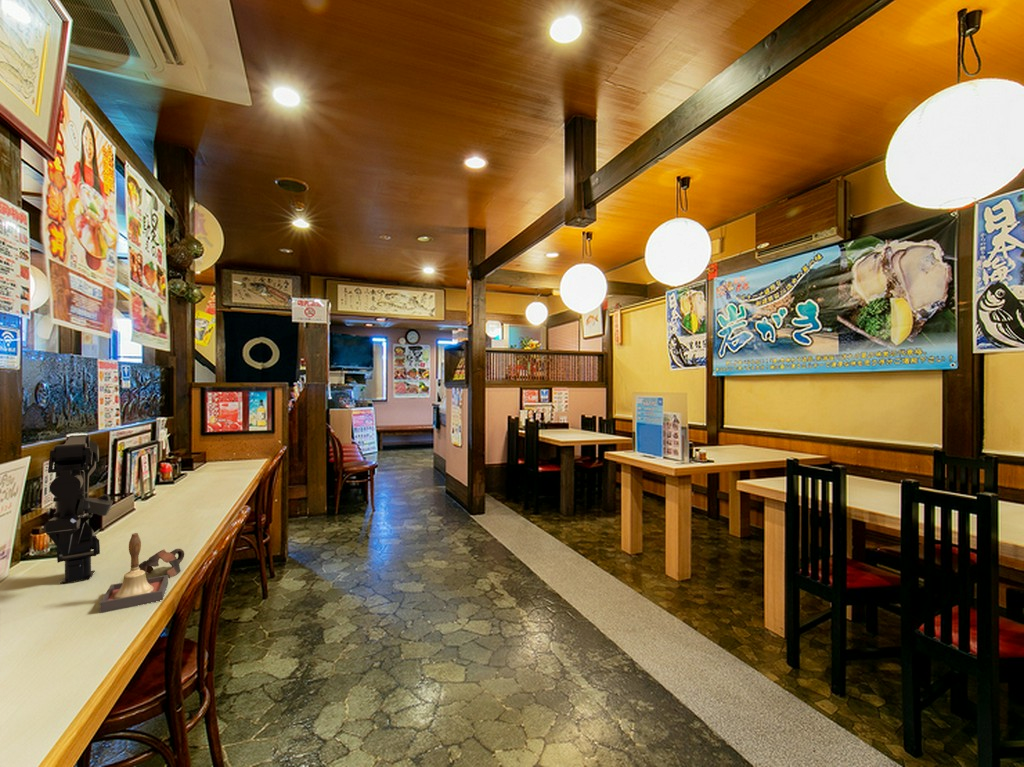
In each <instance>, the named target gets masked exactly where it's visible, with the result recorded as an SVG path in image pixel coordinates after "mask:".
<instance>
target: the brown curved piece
mask: <svg viewBox="0 0 1024 767" xmlns="http://www.w3.org/2000/svg"><path fill="white" fill-rule="evenodd" d="M176 555H178V556H176ZM184 558H185V552H184V550H183V548H175V549H174V550H171V551H169V552H167V551H166V550H165V549H164V548H163V549H161V550H160V551H158V552H156V553H155V554H153V555H152V556H150V557H149V558H148V559H147V560H143V561H142V562H140V563H139V570H143V571H145V574H148V573H150V574H151V573H152V572H153V571H154V568H155V567H159V566H160V564H159V560H160V559H161V560H162V561H163V563H169V564H170V566H171V567H170V568H169V569H168V570H167V571H166V573H167V574H166V575H168V578H170V577H171V578H172V576H173V577H174V576H176V575H177V574H179V573H180V572H181V567H180V564H181V563H182V561H183V560H184ZM153 567H154V568H153Z"/></svg>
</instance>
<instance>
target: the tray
mask: <svg viewBox="0 0 1024 767" xmlns="http://www.w3.org/2000/svg"><path fill="white" fill-rule="evenodd" d="M146 579H147V582H148V583H149V584H150V585H152V586H153V588H154V590H153V591H152V592H150V593H145V594H140V595H134V596H129V597H124V598H118V599H115V598H114V596H115V594H116V593H117V592H118V591H119V590H120V588H121V586H122V583H123V582H119V583H112V584H110V586H109V587H108V589H107V590H106V592H105V594H104V596H103V597H102V598H101V600H100V602H99V613H100V614H103V613H106V612H112V611H117V610H122V609H127V608H128V609H129V608H132V607H138V605H139V606H142V605H143V604H144V605H148V604H147V603H149V604H152V603H151V602H154V603H157V602H156V601H159V602H161V601H160V600H164V598H165V595H164V594H166V592H165V591H167V589H168V586H169V575H168V574H165V575H158V576H154V577H153V576H152V577H148V578H147V577H146ZM166 588H167V589H166ZM163 597H164V598H163Z"/></svg>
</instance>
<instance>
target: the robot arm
mask: <svg viewBox="0 0 1024 767" xmlns="http://www.w3.org/2000/svg"><path fill="white" fill-rule="evenodd" d="M48 458H49V459H48V467H47V468H48V470H47V473H48V474H52V473H55V478H54V479H53V480H52V481H51V483H50V485H49V492H50V493H51V494H52V495H53V496H54V497H52V498H53V499H52V502H54V503H55V512H54V513H53V514H52V515H53V516H52V518H50V519H49V520H48V521H47V522H45V523H44V524H43V533H45V534H46V536H48V537H49V538H50V539H51V541H52V542H53V543H54V545H55V547H56V558H57V559H56V561H57V563H58V564H59V563H62V562H64V577H63V579H62V580H61V581H60V582H59V583H60V584H61V585H62V583H63V584H69V583H74V581H75V582H80V581H79V580H81V581H85V580H84V579H87V580H90V579H91V578H92V577H91V576H94V574H95V573H96V570H94V569H93V570H92V557H96V556H97V555H100V554H101V545H100V544H101V543H100V539H99V538H98V537H97V535H95V531H94V530H93V528H92V526H91V525H90V524H89V523H88V521H89V520H90V519H91V518H92V517H93V515H94V514H95V515H98V516H102V517H104V516H107V515H108V514H109V512H110V510H111V507H112V506H113V503H114V501H113V500H111V498H110V495H109V494H102V495H101V496H100V497H90V496H89V493H90V492H89V488H90V487H89V486H90V485H89V484H90V476H91V475H92V474H93V473H94V471H95V470H96V468H97V463H98V462H99V461H100V450H99V444H97V443H96V442H95V441H93V440H91V437H90V435H87V434H81V435H79V434H77V435H69V436H66V441H65V443H64V444H56V445H54V447H53V449H50V451H49V457H48ZM99 463H100V462H99ZM94 572H95V573H94ZM93 573H94V574H93ZM90 577H91V578H90ZM89 578H90V579H89ZM68 582H69V583H68Z"/></svg>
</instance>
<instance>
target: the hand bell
mask: <svg viewBox="0 0 1024 767" xmlns="http://www.w3.org/2000/svg"><path fill="white" fill-rule="evenodd" d="M141 549H142V541H141V538H140V536H139V533H138V532H135V533H131V535H130V539H129V542H128V553H129V555H130V571H128V572H126V573H125V574H124V575H123V580H122V582H121V583H122V586H121V588H120V590H119V591H118V592H117V593H116V594H115V596H114V598H115V599H118V598H124V597H129V596H134V595H140V594H145V593H150V592H152V591H153V590H154V588H153V586H152V585H150V584H149V583H148V582H147V575H146V573H145V571H143V570H140V568H139V564H140V563H139V562H140V561H139V556H140V553H141V551H142V550H141Z"/></svg>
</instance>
